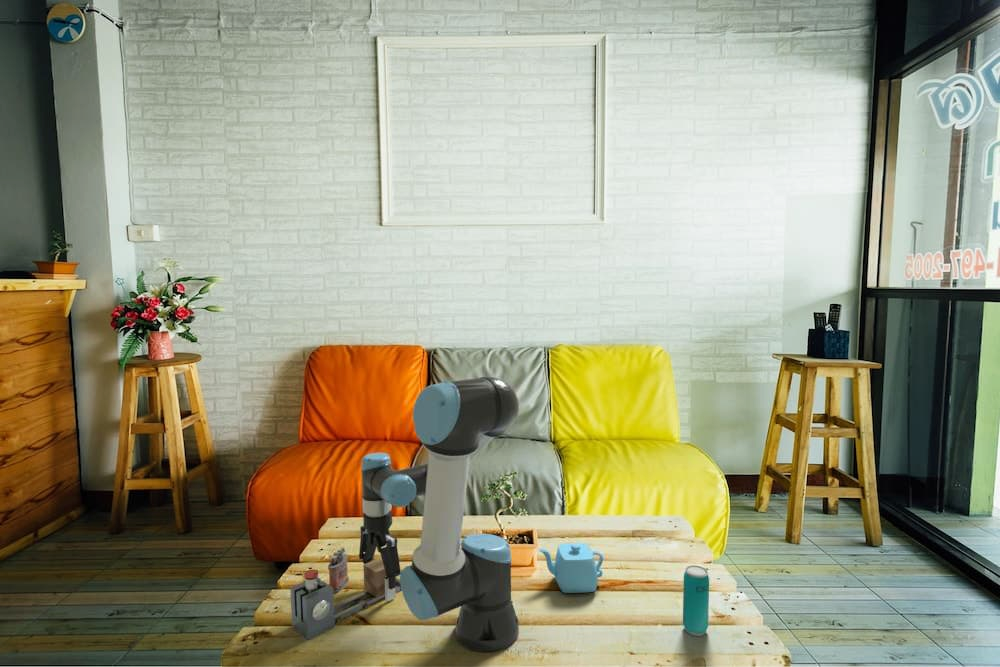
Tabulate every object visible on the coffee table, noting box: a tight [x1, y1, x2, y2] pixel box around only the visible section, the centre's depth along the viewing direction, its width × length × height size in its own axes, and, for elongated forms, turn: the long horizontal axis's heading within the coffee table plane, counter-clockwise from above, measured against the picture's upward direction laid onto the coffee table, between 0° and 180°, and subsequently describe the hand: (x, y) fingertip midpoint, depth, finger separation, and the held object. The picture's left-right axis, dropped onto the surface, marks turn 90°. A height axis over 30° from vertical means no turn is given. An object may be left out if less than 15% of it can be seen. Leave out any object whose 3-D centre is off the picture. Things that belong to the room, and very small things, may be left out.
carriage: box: [363, 556, 397, 598], centre depth 153 cm, size 6×6×7 cm
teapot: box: [538, 542, 604, 594], centre depth 157 cm, size 12×18×12 cm
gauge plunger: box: [303, 569, 319, 595], centre depth 139 cm, size 3×3×7 cm
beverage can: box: [682, 565, 710, 637], centre depth 136 cm, size 6×6×15 cm
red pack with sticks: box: [327, 546, 350, 595], centre depth 157 cm, size 8×3×10 cm, turn 168°
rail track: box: [294, 577, 402, 637], centre depth 147 cm, size 6×29×2 cm, turn 136°
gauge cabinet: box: [289, 576, 336, 641], centre depth 139 cm, size 8×7×10 cm
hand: (380, 592), depth 153 cm, fingers open, 9 cm apart
